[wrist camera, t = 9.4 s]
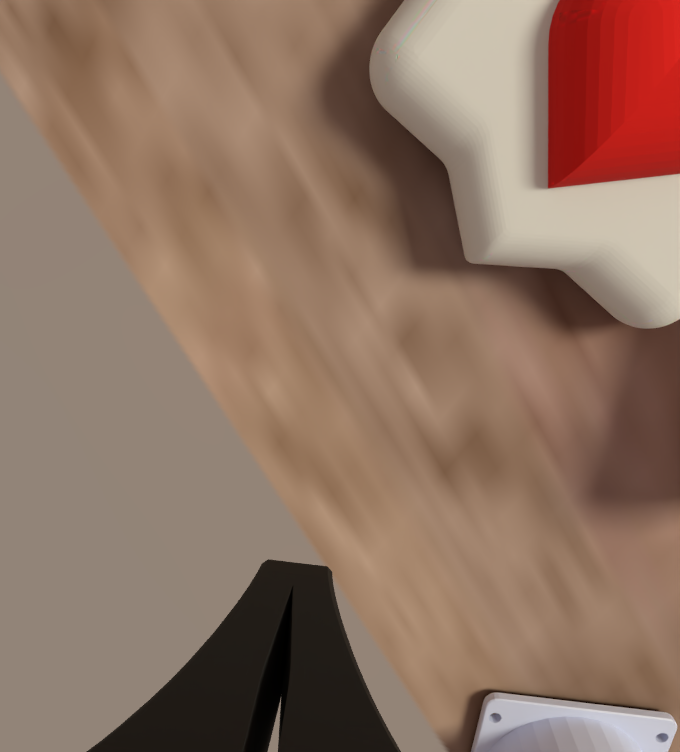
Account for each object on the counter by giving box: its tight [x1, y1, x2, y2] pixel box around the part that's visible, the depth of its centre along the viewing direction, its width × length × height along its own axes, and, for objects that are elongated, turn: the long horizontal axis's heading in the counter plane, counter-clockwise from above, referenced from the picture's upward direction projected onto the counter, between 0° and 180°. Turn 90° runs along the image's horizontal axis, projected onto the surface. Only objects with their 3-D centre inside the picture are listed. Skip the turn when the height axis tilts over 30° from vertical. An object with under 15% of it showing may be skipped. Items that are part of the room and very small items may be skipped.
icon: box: [369, 0, 680, 329], centre depth 15 cm, size 12×4×10 cm
